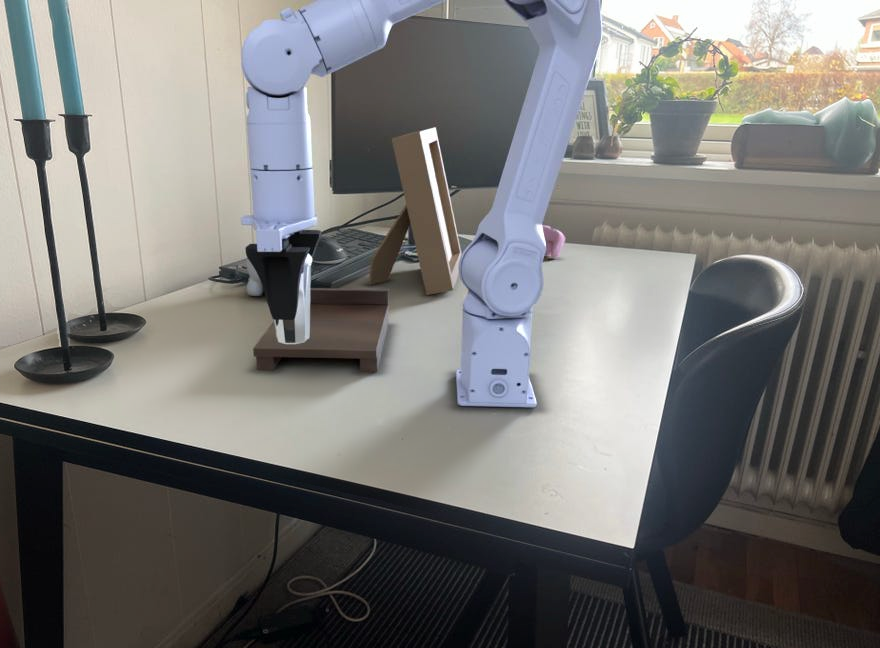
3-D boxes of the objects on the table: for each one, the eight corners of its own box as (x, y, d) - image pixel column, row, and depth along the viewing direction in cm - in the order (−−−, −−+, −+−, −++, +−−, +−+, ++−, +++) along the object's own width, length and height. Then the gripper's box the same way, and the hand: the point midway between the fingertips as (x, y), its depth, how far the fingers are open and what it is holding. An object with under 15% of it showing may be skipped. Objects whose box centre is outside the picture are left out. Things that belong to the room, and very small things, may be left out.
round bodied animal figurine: (319, 285, 119) (317, 235, 116) (275, 302, 109) (272, 247, 106) (284, 281, 122) (281, 232, 120) (239, 297, 112) (234, 243, 110)
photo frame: (463, 266, 133) (467, 127, 125) (452, 296, 113) (457, 131, 104) (385, 264, 135) (384, 126, 127) (362, 292, 115) (359, 131, 107)
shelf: (376, 375, 80) (376, 333, 79) (254, 373, 81) (251, 331, 79) (388, 323, 99) (388, 288, 97) (289, 322, 100) (287, 287, 98)
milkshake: (257, 346, 69) (249, 245, 66) (283, 330, 74) (277, 234, 70) (299, 351, 68) (293, 248, 64) (323, 334, 72) (318, 237, 69)
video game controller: (561, 264, 142) (569, 231, 143) (555, 257, 138) (563, 223, 139) (516, 258, 147) (524, 226, 148) (508, 252, 143) (516, 219, 144)
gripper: (257, 161, 72) (265, 291, 77) (215, 176, 58) (229, 332, 63) (325, 162, 72) (330, 292, 76) (300, 176, 58) (308, 333, 63)
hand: (289, 310), depth 70 cm, fingers closed on milkshake, 5 cm apart
